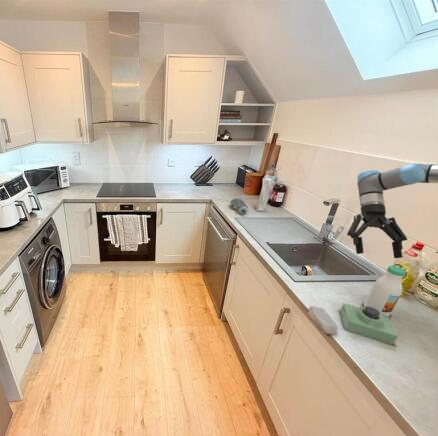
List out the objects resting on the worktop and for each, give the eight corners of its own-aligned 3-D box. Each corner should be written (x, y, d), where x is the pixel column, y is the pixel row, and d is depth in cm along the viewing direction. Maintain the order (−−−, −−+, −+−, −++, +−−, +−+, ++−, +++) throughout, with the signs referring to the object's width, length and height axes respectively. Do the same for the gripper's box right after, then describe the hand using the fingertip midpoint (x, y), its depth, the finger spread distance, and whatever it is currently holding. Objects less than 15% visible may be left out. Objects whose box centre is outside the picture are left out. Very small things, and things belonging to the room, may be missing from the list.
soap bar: (329, 338, 85) (342, 332, 82) (313, 335, 85) (326, 328, 81) (317, 312, 93) (328, 305, 89) (303, 309, 92) (313, 302, 88)
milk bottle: (369, 315, 91) (390, 273, 83) (359, 301, 98) (378, 261, 90) (393, 320, 89) (418, 277, 81) (382, 305, 96) (403, 264, 88)
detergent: (228, 204, 204) (233, 214, 181) (230, 196, 201) (235, 206, 178) (244, 206, 203) (251, 217, 180) (246, 198, 200) (253, 208, 177)
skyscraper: (255, 207, 198) (261, 174, 187) (265, 208, 196) (273, 175, 185) (256, 211, 191) (263, 177, 179) (267, 212, 188) (274, 177, 177)
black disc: (375, 313, 85) (378, 308, 84) (379, 321, 82) (381, 316, 81) (361, 309, 87) (363, 305, 86) (364, 316, 83) (366, 312, 83)
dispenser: (383, 323, 87) (389, 311, 85) (392, 344, 79) (400, 331, 77) (340, 310, 93) (345, 299, 91) (345, 329, 85) (350, 316, 83)
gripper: (397, 211, 101) (405, 260, 95) (334, 206, 105) (338, 252, 99) (414, 205, 94) (424, 258, 88) (346, 199, 98) (351, 249, 92)
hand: (378, 255), depth 94 cm, fingers open, 13 cm apart
